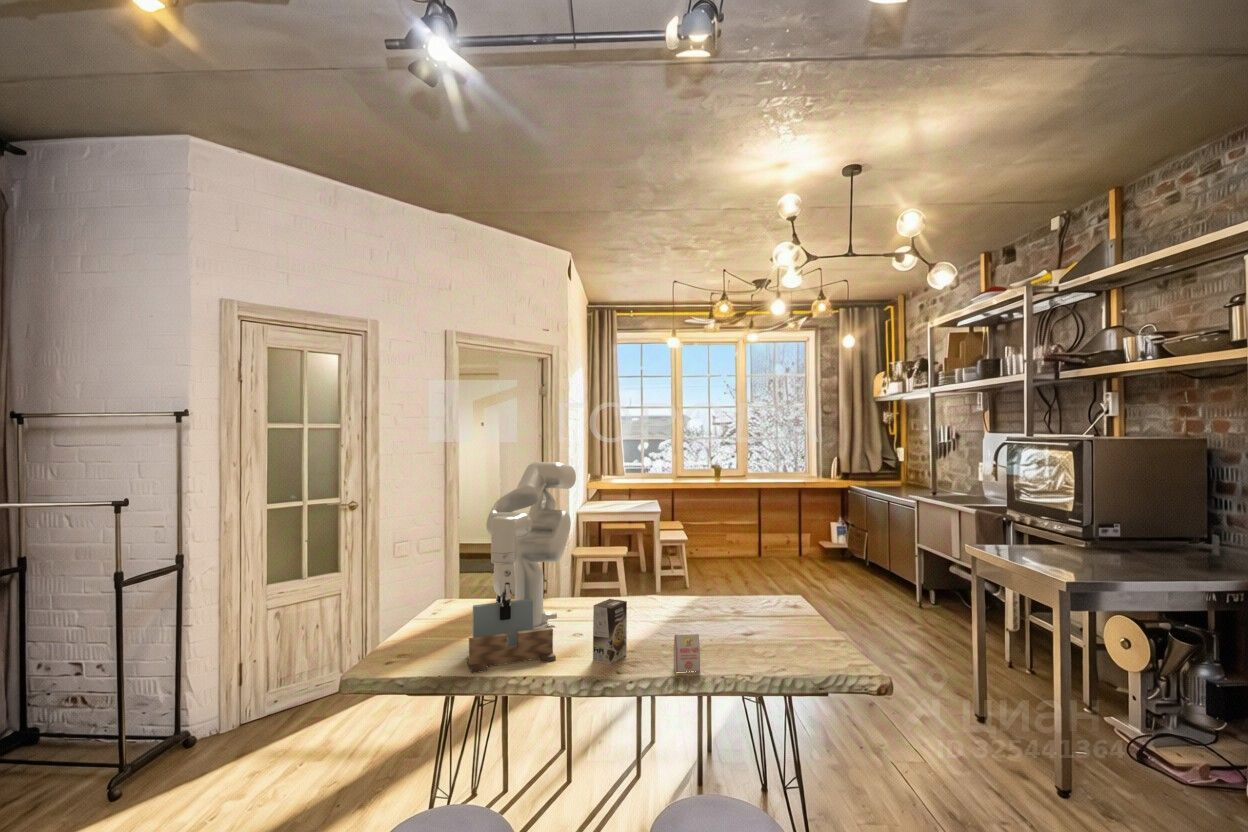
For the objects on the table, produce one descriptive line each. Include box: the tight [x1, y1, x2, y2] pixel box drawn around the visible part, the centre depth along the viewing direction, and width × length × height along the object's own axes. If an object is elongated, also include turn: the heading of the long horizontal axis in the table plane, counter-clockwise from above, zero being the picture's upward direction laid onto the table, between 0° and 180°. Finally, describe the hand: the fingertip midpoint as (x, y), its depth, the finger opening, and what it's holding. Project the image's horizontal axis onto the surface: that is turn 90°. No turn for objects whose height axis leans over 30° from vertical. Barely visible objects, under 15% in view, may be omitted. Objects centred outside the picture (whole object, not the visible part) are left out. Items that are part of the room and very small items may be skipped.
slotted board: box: [466, 626, 557, 674], centre depth 176 cm, size 24×8×8 cm, turn 114°
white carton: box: [673, 633, 701, 673], centre depth 170 cm, size 4×7×10 cm, turn 95°
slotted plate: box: [472, 599, 533, 647], centre depth 186 cm, size 18×2×14 cm, turn 114°
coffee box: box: [592, 598, 628, 666], centre depth 179 cm, size 9×6×16 cm
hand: (503, 616), depth 186 cm, fingers open, 4 cm apart
